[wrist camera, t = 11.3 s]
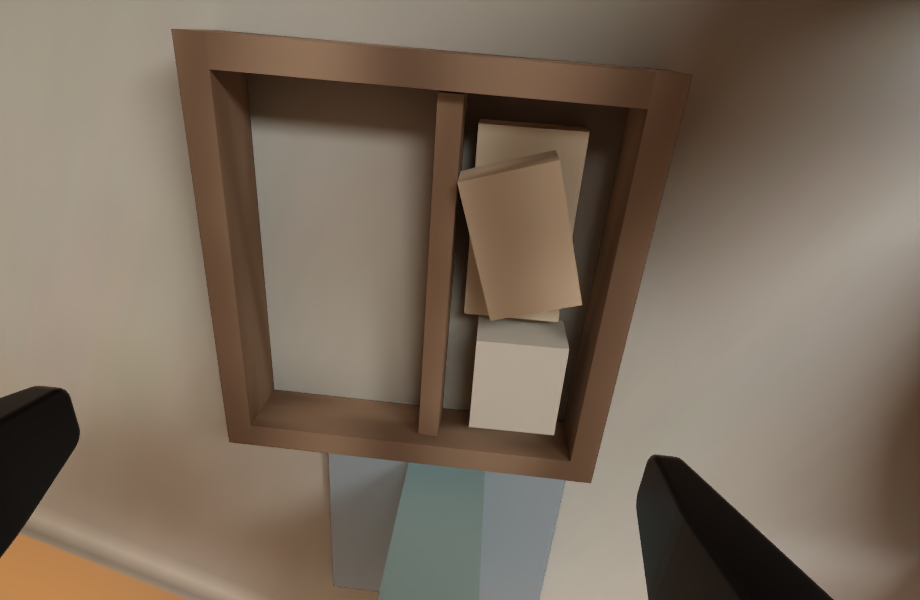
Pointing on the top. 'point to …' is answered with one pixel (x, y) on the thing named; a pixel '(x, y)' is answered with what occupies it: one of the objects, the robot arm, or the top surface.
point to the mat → (503, 529)
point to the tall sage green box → (436, 536)
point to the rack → (455, 74)
